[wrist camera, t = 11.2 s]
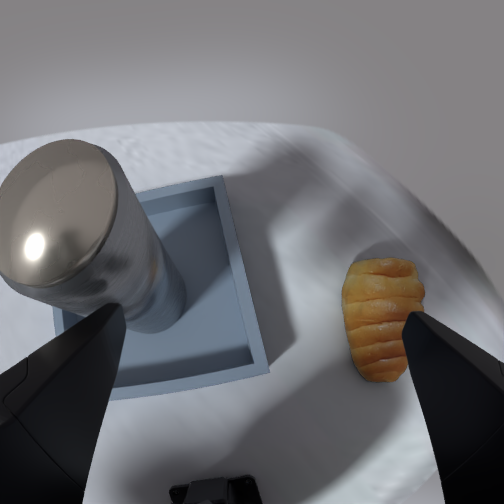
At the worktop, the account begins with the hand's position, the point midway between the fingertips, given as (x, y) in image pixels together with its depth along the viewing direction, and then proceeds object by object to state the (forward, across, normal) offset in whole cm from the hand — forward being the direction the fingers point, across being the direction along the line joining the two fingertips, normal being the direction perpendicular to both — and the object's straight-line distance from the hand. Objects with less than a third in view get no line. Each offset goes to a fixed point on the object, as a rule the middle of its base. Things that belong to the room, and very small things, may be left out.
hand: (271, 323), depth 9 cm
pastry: (+11, -10, +9) cm, 18 cm away
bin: (+12, +7, +8) cm, 16 cm away
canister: (+11, +7, +7) cm, 15 cm away
